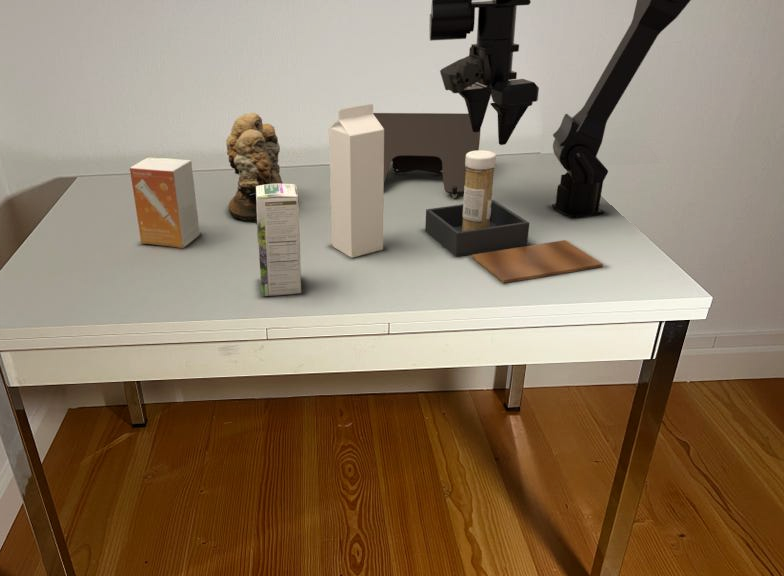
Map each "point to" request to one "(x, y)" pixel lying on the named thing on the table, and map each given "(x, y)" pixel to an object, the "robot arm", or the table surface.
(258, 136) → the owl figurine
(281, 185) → the syrup box
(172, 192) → the small box
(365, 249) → the milk
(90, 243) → the table surface
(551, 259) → the brown wooden board
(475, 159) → the sprinkles bottle
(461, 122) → the laptop tray
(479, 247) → the bin
